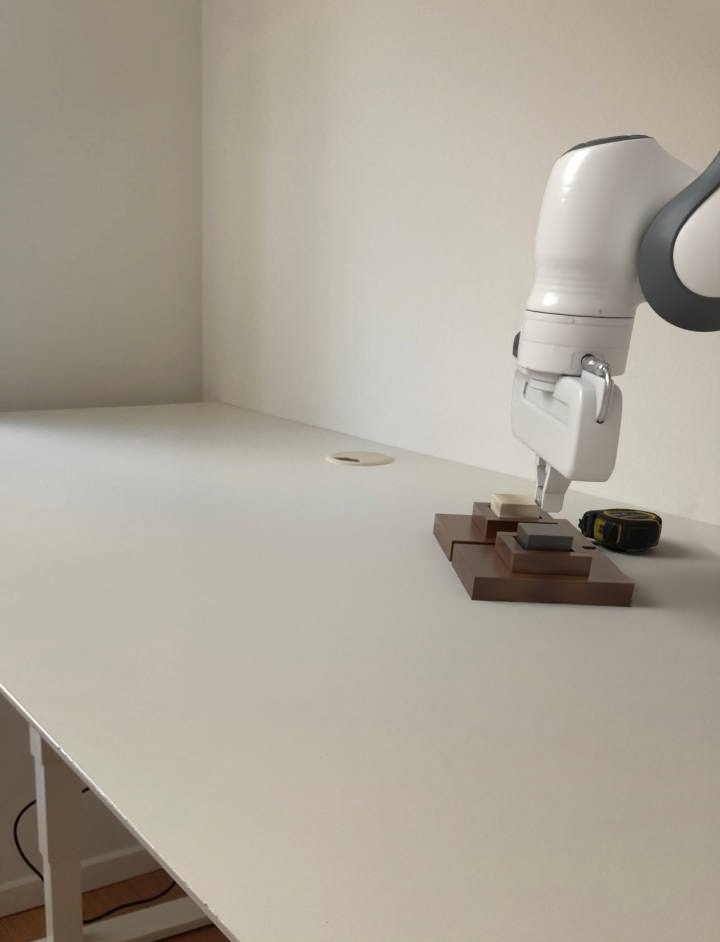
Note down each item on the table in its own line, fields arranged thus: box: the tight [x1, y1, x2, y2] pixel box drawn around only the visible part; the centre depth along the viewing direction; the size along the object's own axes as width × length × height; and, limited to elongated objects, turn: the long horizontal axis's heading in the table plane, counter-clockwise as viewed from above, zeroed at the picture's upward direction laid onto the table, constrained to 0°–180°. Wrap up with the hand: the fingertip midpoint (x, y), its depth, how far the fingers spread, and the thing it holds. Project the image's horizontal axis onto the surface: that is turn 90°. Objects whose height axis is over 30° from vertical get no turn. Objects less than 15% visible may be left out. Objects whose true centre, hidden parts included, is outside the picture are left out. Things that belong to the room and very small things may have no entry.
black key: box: [516, 523, 573, 552], centre depth 93 cm, size 4×4×2 cm
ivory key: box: [490, 493, 541, 519], centre depth 103 cm, size 4×4×2 cm
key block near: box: [451, 532, 636, 608], centre depth 94 cm, size 14×10×4 cm
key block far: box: [432, 501, 597, 563], centre depth 104 cm, size 14×10×4 cm
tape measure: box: [577, 508, 663, 553], centre depth 106 cm, size 7×7×4 cm
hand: (547, 508), depth 92 cm, fingers closed
